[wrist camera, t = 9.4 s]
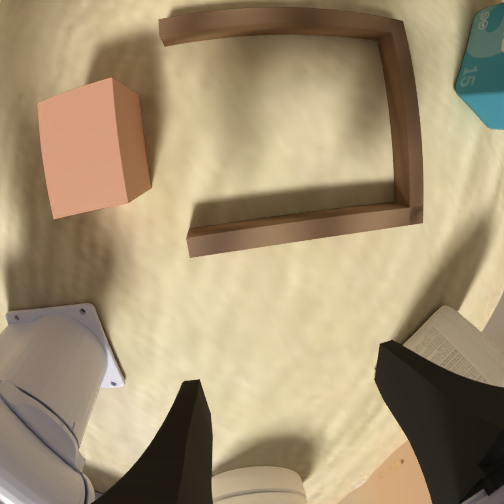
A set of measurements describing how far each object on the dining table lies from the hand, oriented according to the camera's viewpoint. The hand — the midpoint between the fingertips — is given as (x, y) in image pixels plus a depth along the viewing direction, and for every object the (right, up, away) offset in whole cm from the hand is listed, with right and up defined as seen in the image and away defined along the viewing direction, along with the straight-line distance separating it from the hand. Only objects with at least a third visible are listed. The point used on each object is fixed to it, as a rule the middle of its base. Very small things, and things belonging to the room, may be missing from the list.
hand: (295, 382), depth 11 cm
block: (-10, +11, +6) cm, 17 cm away
